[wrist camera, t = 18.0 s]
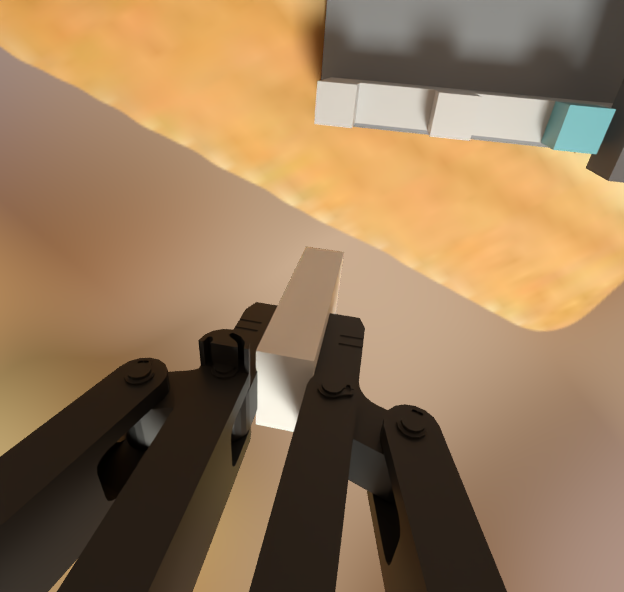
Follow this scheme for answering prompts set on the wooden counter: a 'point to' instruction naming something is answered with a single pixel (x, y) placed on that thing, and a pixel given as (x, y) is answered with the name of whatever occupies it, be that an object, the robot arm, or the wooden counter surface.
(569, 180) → the wooden counter surface
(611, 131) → the grey banded pillar
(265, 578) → the robot arm
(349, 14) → the grey peg rack
